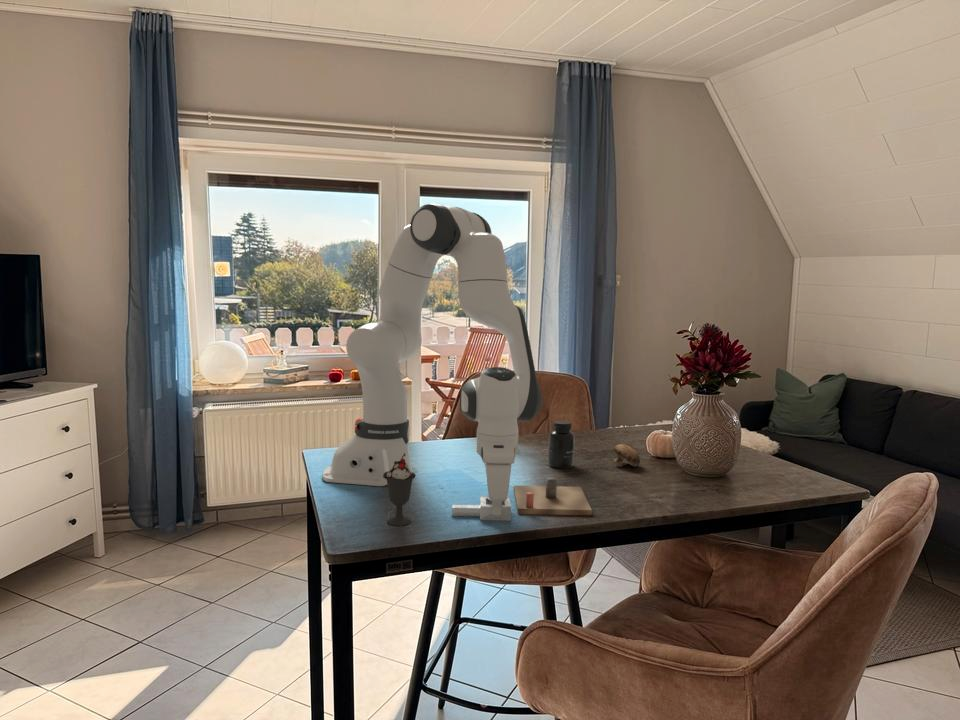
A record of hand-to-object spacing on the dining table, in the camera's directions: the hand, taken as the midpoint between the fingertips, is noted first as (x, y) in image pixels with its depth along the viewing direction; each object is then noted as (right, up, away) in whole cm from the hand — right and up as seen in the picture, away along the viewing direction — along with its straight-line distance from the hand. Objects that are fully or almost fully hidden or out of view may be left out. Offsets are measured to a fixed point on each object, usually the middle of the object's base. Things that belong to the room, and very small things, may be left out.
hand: (495, 507), depth 150 cm
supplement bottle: (+18, +3, +39) cm, 43 cm away
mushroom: (+36, +3, +40) cm, 54 cm away
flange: (-3, -2, 0) cm, 3 cm away
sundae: (-20, -2, -5) cm, 21 cm away
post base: (+13, -1, +9) cm, 16 cm away
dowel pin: (+7, 0, +2) cm, 8 cm away
